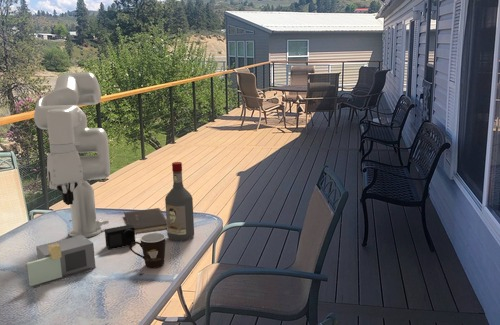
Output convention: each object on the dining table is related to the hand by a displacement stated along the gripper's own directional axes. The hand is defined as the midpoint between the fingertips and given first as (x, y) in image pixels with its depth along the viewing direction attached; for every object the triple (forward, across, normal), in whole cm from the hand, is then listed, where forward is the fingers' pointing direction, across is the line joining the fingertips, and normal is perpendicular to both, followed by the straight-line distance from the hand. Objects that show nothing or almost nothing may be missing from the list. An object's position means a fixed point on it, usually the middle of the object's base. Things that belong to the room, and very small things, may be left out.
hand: (68, 203), depth 171 cm
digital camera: (+26, -22, -14) cm, 37 cm away
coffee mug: (+25, -23, +9) cm, 35 cm away
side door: (+24, +10, 0) cm, 26 cm away
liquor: (+25, -44, -6) cm, 51 cm away
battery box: (+25, +3, -5) cm, 26 cm away
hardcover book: (+26, -42, -31) cm, 59 cm away
